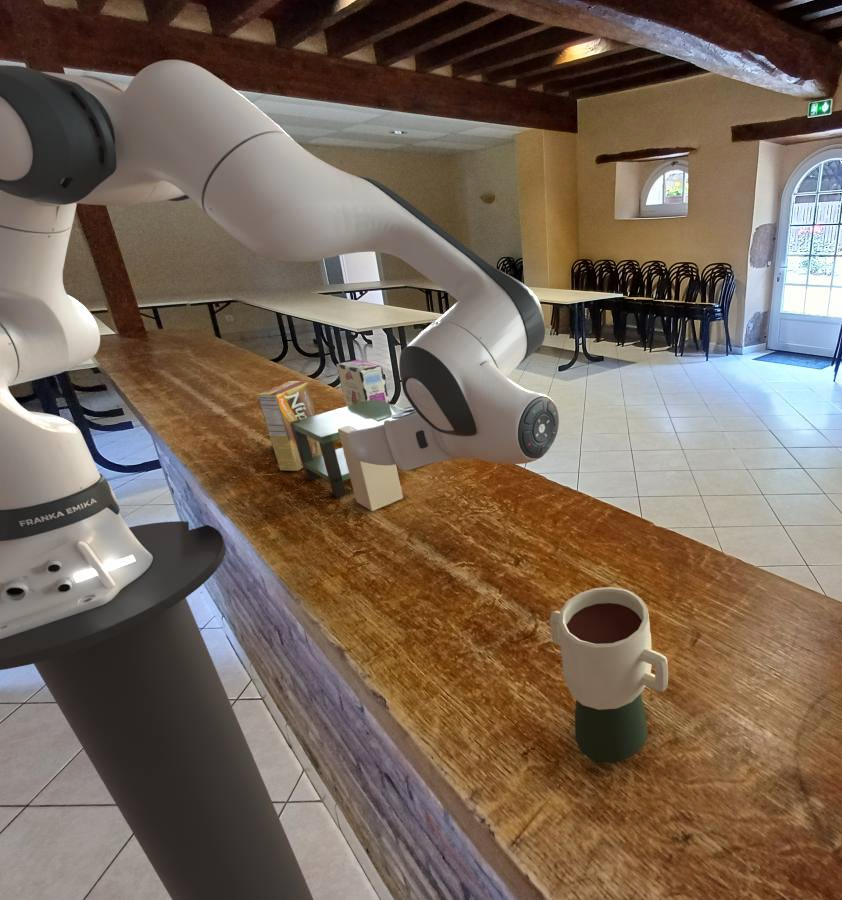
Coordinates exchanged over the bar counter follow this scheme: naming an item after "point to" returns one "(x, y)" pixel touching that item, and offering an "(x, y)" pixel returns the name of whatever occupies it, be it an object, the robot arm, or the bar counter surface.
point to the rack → (326, 432)
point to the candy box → (288, 421)
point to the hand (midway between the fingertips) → (397, 419)
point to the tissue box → (370, 475)
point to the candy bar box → (362, 382)
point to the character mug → (608, 669)
